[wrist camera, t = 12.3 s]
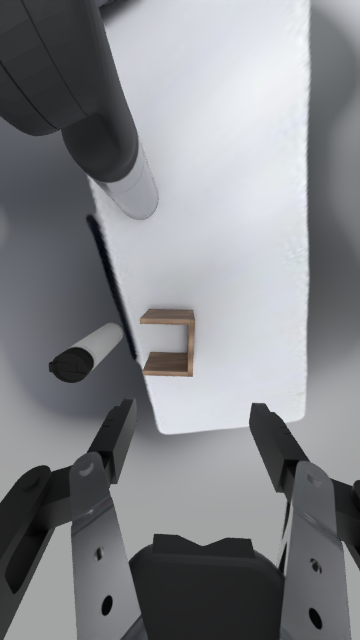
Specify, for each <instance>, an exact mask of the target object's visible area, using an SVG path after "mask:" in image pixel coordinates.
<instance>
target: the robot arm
mask: <svg viewBox="0 0 360 640" xmlns="http://www.w3.org/2000/svg"><path fill="white" fill-rule="evenodd" d="M0 116H1V117H2V118H3V119H4V120H6V121H7V122H8V123H9V124H11V125H12V126H14V127H16V128H17V129H18V130H20V131H22V132H24V133H26V134H29V135H32V136H43V135H48V134H51V133H54V132H56V131H58V130H60V129H61V132H62V136H63V140H64V142H65V145H66V147H67V149H68V151H69V153H70V154H71V156H72V158H73V159H74V160H75V162H76V163H77V164H78V165H79V166H80V167H81V168H82V169H83V170H84V171H85V172H86V173H87V174H88V175H89V176H90V177H91V178H92V179H93V180H94V181H95V182H96V183H97V184H98V185H99V186H100V187H101V188H102V189H103V190H104V191H105V192H106V193H107V194H108V195H109V196H110V197H111V198H112V200H113V201H114V202H115V203H116V204H117V205H118V206H119V207H120V208H121V209H122V210H123V211H124V212H125V213H126V214H127V215H128V216H130V217H132V218H134V219H139V220H141V219H146V218H148V217H149V216H151V215H152V214H153V213H154V211H155V209H156V207H157V204H158V193H157V189H156V186H155V183H154V180H153V177H152V174H151V171H150V168H149V165H148V162H147V159H146V156H145V153H144V150H143V147H142V144H141V142H140V139H139V136H138V133H137V130H136V127H135V124H134V121H133V118H132V115H131V113H130V110H129V107H128V105H127V102H126V99H125V96H124V93H123V90H122V87H121V84H120V81H119V77H118V74H117V70H116V67H115V64H114V60H113V57H112V53H111V50H110V46H109V43H108V39H107V36H106V32H105V29H104V25H103V22H102V18H101V15H100V11H99V8H98V5H97V2H96V0H0ZM136 410H137V409H136V399H134V398H124V399H123V401H122V403H121V405H120V406H115V407H114V408H113V409H112V410H111V411H110V412H109V413H108V415H107V417H106V419H105V421H104V422H103V424H102V427H101V428H100V430H99V431H98V433H97V435H96V437H95V439H94V441H93V442H92V444H91V446H90V448H89V450H88V451H87V453H86V454H84V455H83V456H81V457H80V458H78V459H77V460H76V462H75V463H74V464H73V465H71V466H69V467H66V468H62V469H59V470H56V471H53V472H51V470H50V468H49V467H48V466H45V465H42V466H37V467H35V468H33V469H31V470H29V471H28V472H26V473H25V474H24V475H22V476H21V477H20V478H19V479H18V480H17V482H16V483H15V484H14V486H13V487H12V488H11V490H10V491H9V492H8V494H7V495H6V496H5V497H4V499H3V500H2V501H1V503H0V640H3V639H4V637H5V635H6V633H7V630H8V628H9V626H10V624H11V622H12V620H13V618H14V616H15V613H16V611H17V609H18V607H19V604H20V603H21V600H22V598H23V596H24V594H25V592H26V590H27V588H28V586H29V583H30V581H31V579H32V577H33V575H34V573H35V570H36V568H37V566H38V564H39V562H40V560H41V558H42V555H43V553H44V551H45V549H46V547H47V545H48V543H49V541H50V538H51V536H52V534H53V532H54V530H55V527H57V526H60V525H62V524H65V523H67V522H70V521H72V526H71V542H72V558H73V559H72V560H73V577H74V593H75V611H76V628H77V640H351V631H350V618H349V608H348V596H347V584H346V573H345V561H344V551H343V545H342V542H341V541H344V542H345V544H346V546H347V548H348V550H349V552H350V554H351V555H352V557H353V559H354V561H355V563H356V564H357V566H358V568H359V570H360V480H357V481H355V483H354V485H353V486H350V485H348V484H345V483H342V482H339V481H336V480H334V479H331V478H329V477H328V475H327V474H326V473H325V472H324V471H323V470H322V469H321V468H320V467H318V466H317V465H315V464H313V463H311V462H310V461H309V459H308V458H307V456H306V455H305V453H304V452H303V450H302V449H301V447H300V446H299V444H298V443H297V441H296V440H295V438H294V437H293V435H291V432H290V431H289V429H288V428H287V426H286V425H285V423H284V422H283V420H282V419H281V418H280V417H279V416H278V415H277V414H276V413H275V412H270V410H269V409H268V407H267V406H266V404H265V403H252V406H251V413H250V419H249V426H250V430H251V433H252V435H253V438H254V440H255V443H256V445H257V447H258V450H259V452H260V455H261V457H262V459H263V462H264V464H265V467H266V469H267V471H268V474H269V476H270V478H271V481H272V483H273V486H274V488H275V491H276V492H280V493H284V494H285V496H286V498H287V502H286V507H285V514H284V521H283V528H282V535H281V542H280V548H279V553H278V557H277V562H276V566H275V565H274V564H273V563H272V562H271V561H270V560H269V559H267V558H266V557H265V556H263V555H262V554H260V553H258V552H257V551H255V550H253V546H252V542H251V539H244V538H224V539H222V540H219V541H217V542H214V543H211V544H209V545H206V546H200V545H198V544H196V543H194V542H192V541H189V540H187V539H185V538H183V537H181V536H179V535H168V534H167V535H166V534H154V538H153V544H151V545H148V546H146V547H145V548H143V549H141V550H140V551H139V552H138V553H136V554H135V555H134V556H133V557H132V558H131V559H130V561H129V562H128V559H127V555H126V551H125V547H124V543H123V540H122V535H121V531H120V527H119V524H118V520H117V515H116V511H115V507H114V504H113V500H112V498H111V495H110V491H109V488H110V485H111V484H117V482H118V479H119V476H120V473H121V470H122V467H123V464H124V461H125V458H126V455H127V452H128V448H129V445H130V442H131V439H132V436H133V433H134V430H135V427H136V422H137V411H136Z"/></svg>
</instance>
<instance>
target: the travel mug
mask: <svg viewBox="0 0 360 640" xmlns="http://www.w3.org/2000/svg"><path fill="white" fill-rule="evenodd" d="M123 336H124V331H123V328H122V327H121V326H120V325H119V324H117V323H115V322H110V323H107V324H105V325H104V326H102V327H101V328H99V329H98V330H96V331H94V332H93V333H91V334H90V335H89V336H87V337H85V338H84V339H82V340H81V341H79V342H78V343H76V344H74V345H73V346H71V347H70V348H68V349H67V350H66V351H64V352H63V353H61V354H60V355H58V356H57V357H55V359H54V360H53V361H52V362H50V363H49V371H50V372H53V373H54V375H55V376H56V377H57V378H58V379H60V380H61V381H64V382H68V383H75V382H79V381H81V380H83V379H84V378H85V377H86V376H87V375H88V374H89V373H90V372H91V371H92V370H93V369H94V368H95V367H96V366H97V365H98V364H99V363H100V361H101V360H102V359H103V358H104V357H105V356H106V355H107V354H108V353H109V352H110V351H111V350H112V349H113V348H114V347H115V346H116V345H117V344H118V342H120V340H121V339H122V338H123Z"/></svg>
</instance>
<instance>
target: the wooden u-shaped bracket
mask: <svg viewBox="0 0 360 640" xmlns="http://www.w3.org/2000/svg"><path fill="white" fill-rule="evenodd" d="M140 324H171V325H188V346H187V353H165V352H151V353H150V355H149V357H148V360H147V362H146V364H145V367H144V369H143V375H154V376H187V377H193V355H194V331H195V318H194V313H193V310H163V309H149V310H148V311H147V312H146V313H145V314H144V315H143V316H142V317H141V318H140Z"/></svg>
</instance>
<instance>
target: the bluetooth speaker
mask: <svg viewBox="0 0 360 640" xmlns="http://www.w3.org/2000/svg"><path fill="white" fill-rule="evenodd" d="M115 1H116V0H96V2H97V5H98V8H99V7H100V6H102V5H104V6H106V5H109V4H111V3H113V2H115Z"/></svg>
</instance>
